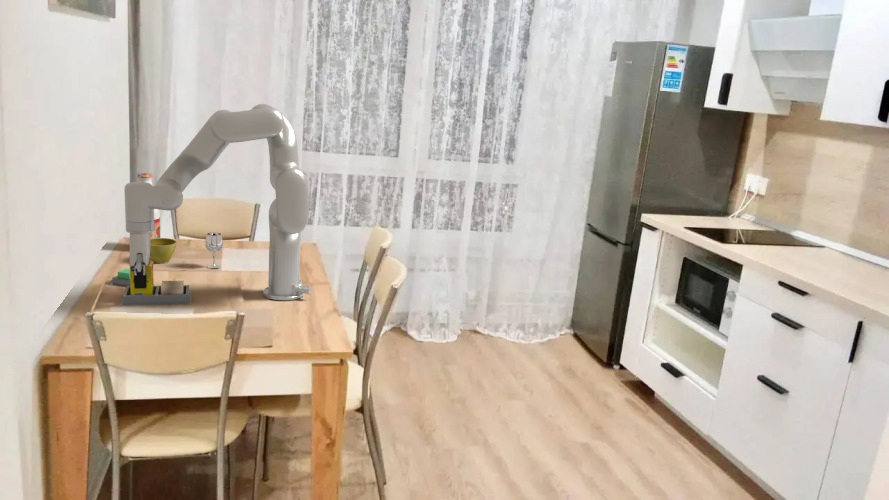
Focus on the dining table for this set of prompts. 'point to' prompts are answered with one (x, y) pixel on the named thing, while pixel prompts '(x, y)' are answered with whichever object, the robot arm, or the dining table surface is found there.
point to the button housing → (120, 282)
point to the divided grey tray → (156, 298)
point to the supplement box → (150, 285)
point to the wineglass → (214, 245)
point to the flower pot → (162, 249)
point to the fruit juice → (156, 234)
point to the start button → (124, 274)
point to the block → (172, 287)
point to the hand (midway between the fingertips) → (142, 282)
